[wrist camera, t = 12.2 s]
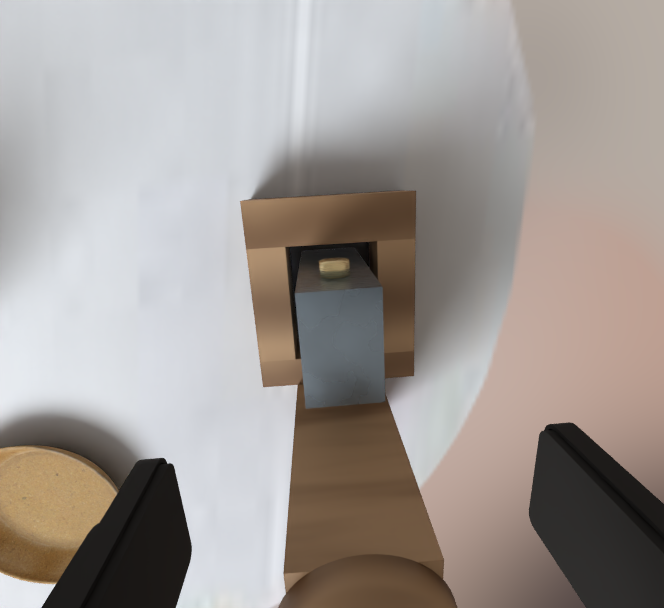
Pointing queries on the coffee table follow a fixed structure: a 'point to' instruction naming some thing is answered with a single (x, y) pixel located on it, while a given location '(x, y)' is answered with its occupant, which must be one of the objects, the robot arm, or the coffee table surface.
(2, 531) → the plant saucer
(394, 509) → the wooden square frame
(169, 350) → the coffee table surface
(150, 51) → the coffee table surface
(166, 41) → the coffee table surface
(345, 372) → the grey box with cap
